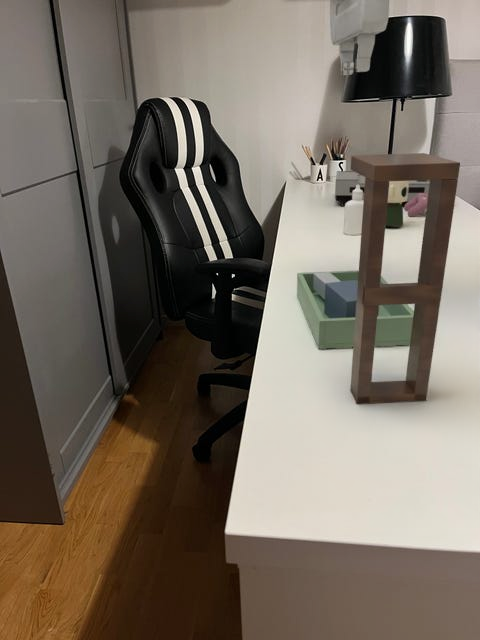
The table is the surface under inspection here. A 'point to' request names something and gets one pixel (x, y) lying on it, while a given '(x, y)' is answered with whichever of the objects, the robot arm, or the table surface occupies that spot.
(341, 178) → the game console
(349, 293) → the slate grey square prism
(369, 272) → the shelf stand
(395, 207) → the character mug
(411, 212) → the video game controller
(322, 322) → the tray
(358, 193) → the eye dropper bottle
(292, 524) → the table surface
